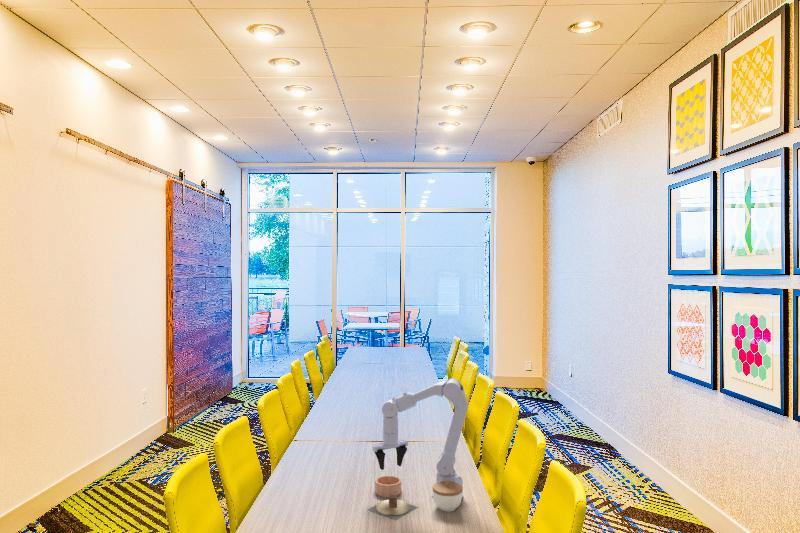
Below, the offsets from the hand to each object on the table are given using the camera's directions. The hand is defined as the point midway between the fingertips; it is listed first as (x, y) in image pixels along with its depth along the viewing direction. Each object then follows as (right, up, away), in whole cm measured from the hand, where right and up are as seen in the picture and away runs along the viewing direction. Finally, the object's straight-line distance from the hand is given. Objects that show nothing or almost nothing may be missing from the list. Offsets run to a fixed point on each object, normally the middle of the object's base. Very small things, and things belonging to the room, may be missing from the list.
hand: (390, 467), depth 214 cm
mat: (+1, -10, -15) cm, 18 cm away
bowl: (-1, -10, 0) cm, 10 cm away
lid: (+1, -9, -15) cm, 18 cm away
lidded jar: (+21, -10, -14) cm, 27 cm away
